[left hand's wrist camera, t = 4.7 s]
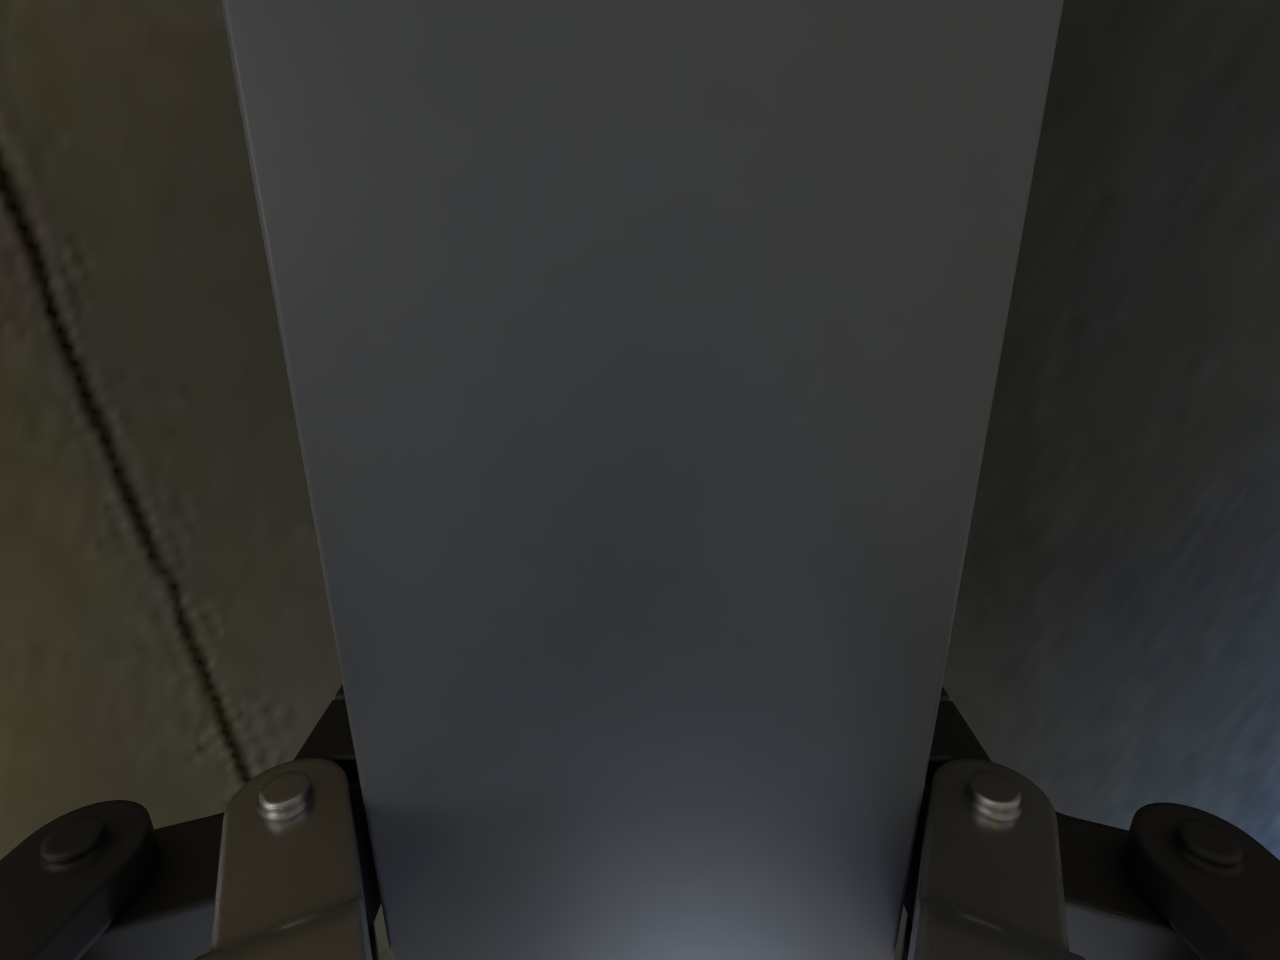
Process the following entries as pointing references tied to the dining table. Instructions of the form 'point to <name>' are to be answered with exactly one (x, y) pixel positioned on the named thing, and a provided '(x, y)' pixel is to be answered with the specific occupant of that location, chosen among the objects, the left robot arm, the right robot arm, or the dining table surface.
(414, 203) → the box
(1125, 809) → the dining table surface
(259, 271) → the dining table surface
